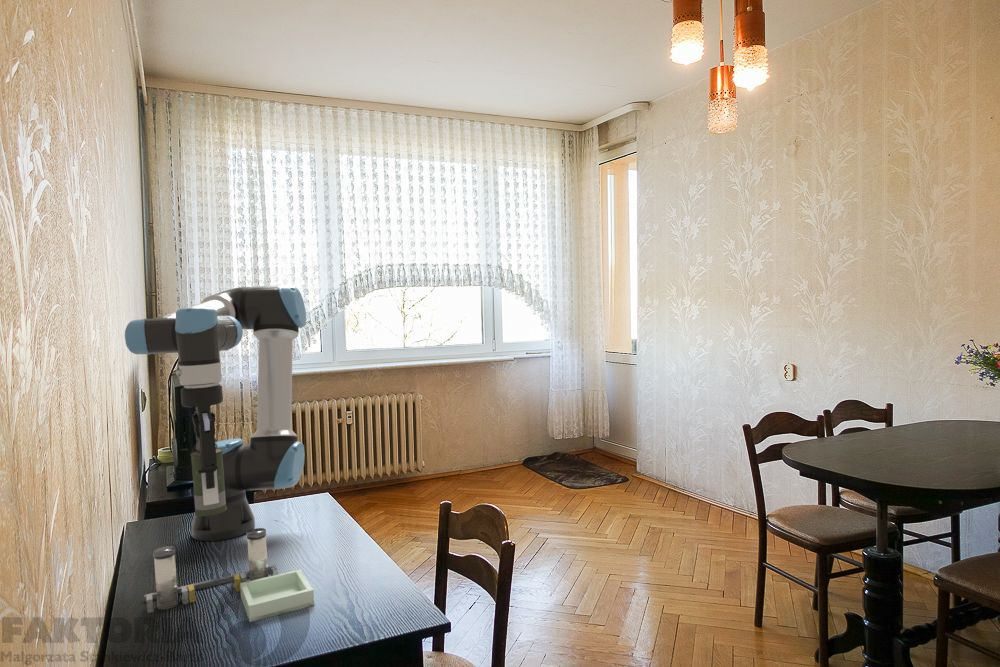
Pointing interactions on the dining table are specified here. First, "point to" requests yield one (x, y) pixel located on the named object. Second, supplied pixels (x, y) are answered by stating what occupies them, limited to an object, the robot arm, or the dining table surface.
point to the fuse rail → (170, 591)
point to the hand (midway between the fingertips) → (209, 499)
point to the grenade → (197, 483)
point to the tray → (276, 595)
